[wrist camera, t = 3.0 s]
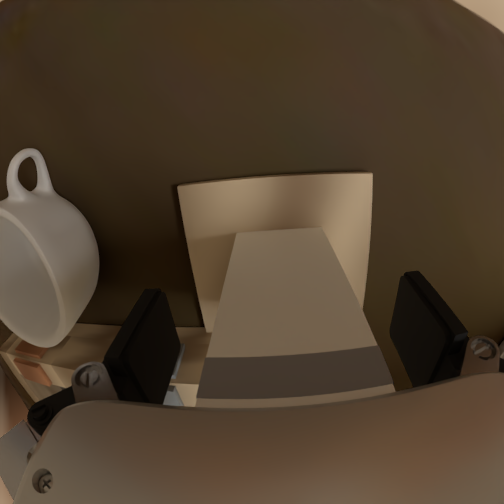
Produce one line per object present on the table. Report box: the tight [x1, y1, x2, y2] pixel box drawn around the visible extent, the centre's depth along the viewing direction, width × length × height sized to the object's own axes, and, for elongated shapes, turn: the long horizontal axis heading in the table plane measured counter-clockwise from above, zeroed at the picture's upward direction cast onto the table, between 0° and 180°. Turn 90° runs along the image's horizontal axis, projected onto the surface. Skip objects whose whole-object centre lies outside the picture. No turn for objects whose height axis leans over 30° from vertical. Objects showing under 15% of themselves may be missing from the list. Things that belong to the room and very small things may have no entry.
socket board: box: [0, 323, 212, 407], centre depth 17 cm, size 18×10×5 cm, turn 95°
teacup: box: [0, 148, 99, 348], centre depth 12 cm, size 10×8×5 cm
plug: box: [195, 227, 396, 408], centre depth 10 cm, size 4×4×10 cm
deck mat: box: [177, 172, 373, 333], centre depth 14 cm, size 9×9×1 cm
